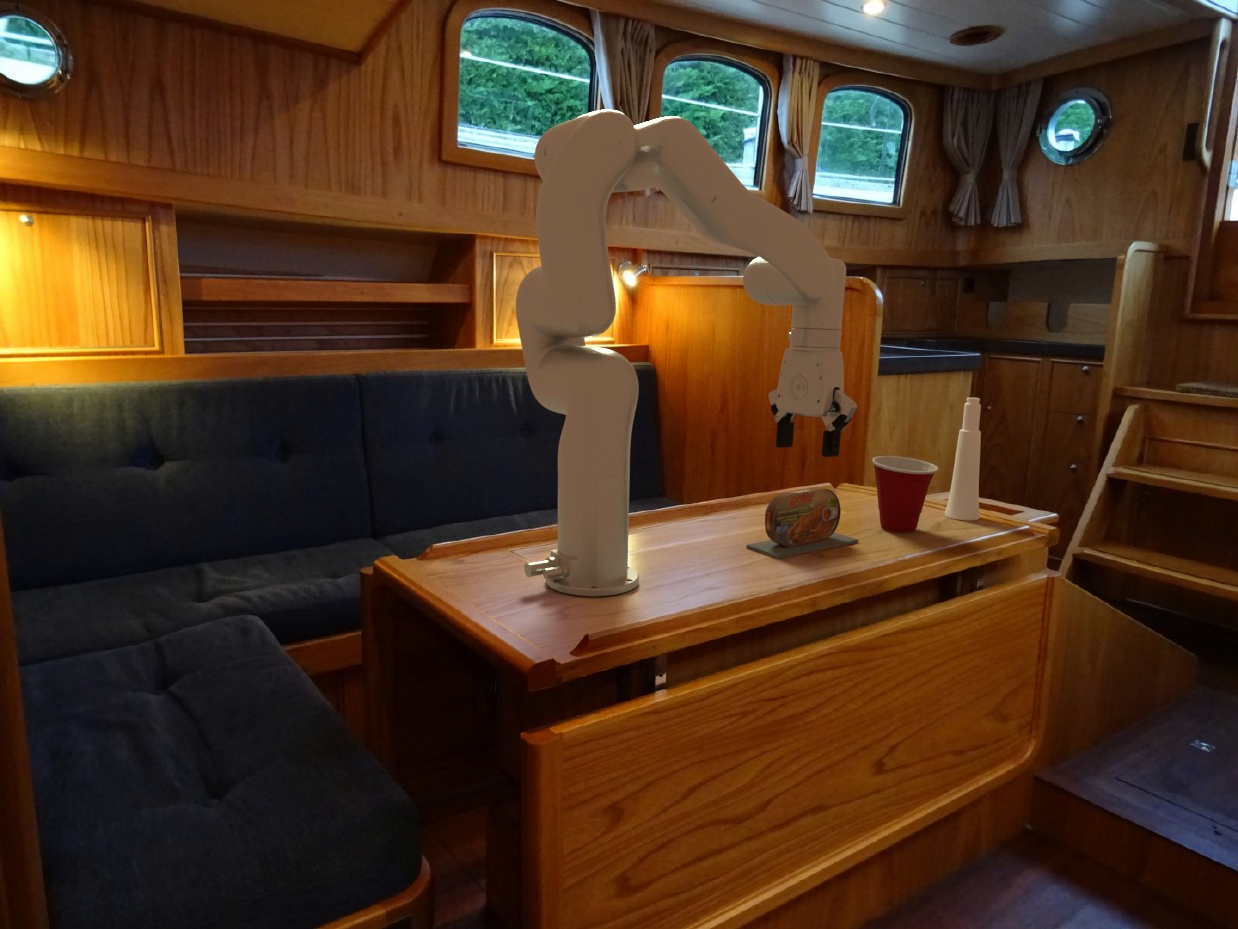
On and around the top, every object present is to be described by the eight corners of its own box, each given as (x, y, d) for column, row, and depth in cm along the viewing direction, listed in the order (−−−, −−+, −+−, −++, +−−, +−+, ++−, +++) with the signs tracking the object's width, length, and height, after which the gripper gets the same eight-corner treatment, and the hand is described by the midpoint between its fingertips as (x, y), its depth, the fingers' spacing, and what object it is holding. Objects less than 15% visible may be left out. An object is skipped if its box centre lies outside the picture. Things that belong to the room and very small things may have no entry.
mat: (778, 558, 128) (778, 555, 128) (746, 547, 134) (746, 544, 134) (858, 542, 138) (858, 539, 138) (825, 532, 144) (825, 529, 144)
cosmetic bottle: (941, 517, 156) (952, 398, 152) (947, 511, 161) (958, 395, 157) (977, 522, 153) (989, 400, 149) (981, 515, 158) (993, 397, 154)
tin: (773, 550, 131) (776, 497, 129) (759, 545, 133) (762, 493, 132) (840, 537, 139) (844, 487, 138) (826, 533, 142) (829, 483, 140)
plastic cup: (907, 541, 140) (913, 469, 138) (853, 527, 148) (858, 459, 146) (945, 532, 146) (951, 463, 144) (892, 518, 155) (897, 453, 153)
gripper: (757, 338, 135) (750, 444, 138) (842, 343, 121) (832, 461, 124) (791, 339, 139) (783, 442, 142) (876, 344, 125) (866, 458, 128)
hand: (806, 451), depth 133 cm, fingers open, 9 cm apart
